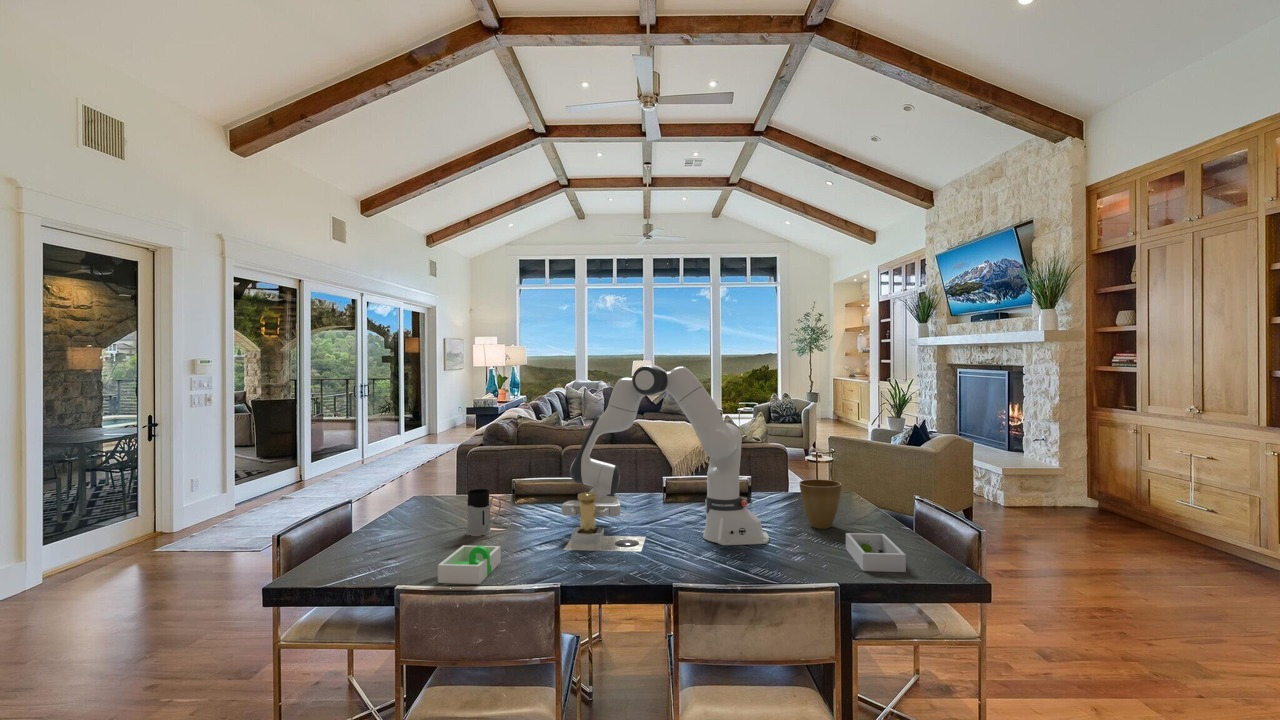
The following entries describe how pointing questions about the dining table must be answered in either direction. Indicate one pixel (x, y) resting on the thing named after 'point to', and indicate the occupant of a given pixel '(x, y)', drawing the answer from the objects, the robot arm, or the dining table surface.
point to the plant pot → (820, 501)
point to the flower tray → (882, 562)
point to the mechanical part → (475, 561)
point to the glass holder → (479, 512)
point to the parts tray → (467, 566)
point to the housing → (603, 541)
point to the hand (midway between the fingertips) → (587, 514)
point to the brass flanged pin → (587, 512)
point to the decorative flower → (867, 546)
